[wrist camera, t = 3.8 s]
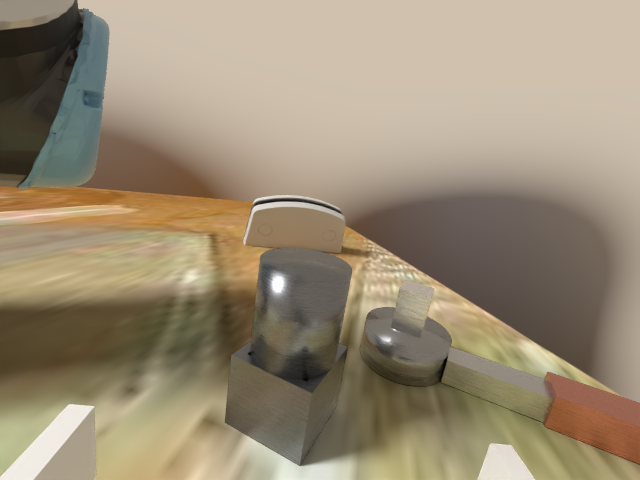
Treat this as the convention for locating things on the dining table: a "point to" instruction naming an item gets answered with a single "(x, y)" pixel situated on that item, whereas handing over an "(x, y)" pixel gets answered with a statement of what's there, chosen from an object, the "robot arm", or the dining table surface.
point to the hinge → (295, 224)
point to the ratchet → (493, 377)
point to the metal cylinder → (291, 352)
